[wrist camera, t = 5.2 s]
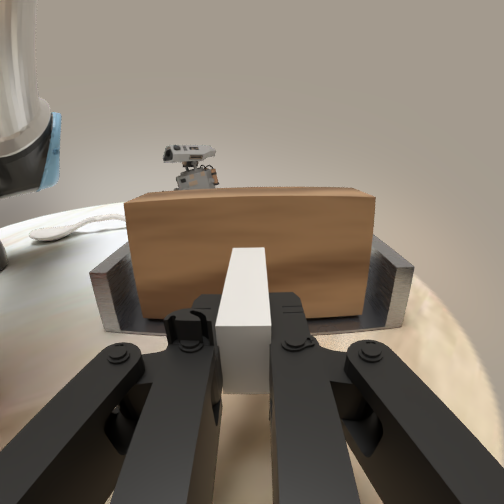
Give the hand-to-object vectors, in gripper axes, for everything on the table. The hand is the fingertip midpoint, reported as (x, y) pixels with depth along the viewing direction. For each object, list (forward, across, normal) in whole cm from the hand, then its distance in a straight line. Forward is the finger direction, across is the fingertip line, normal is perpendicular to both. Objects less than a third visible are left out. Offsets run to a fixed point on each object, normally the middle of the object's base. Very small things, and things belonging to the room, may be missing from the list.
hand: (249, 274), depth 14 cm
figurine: (+44, -13, -7) cm, 47 cm away
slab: (+8, 0, -6) cm, 10 cm away
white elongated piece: (+35, -30, -7) cm, 47 cm away
